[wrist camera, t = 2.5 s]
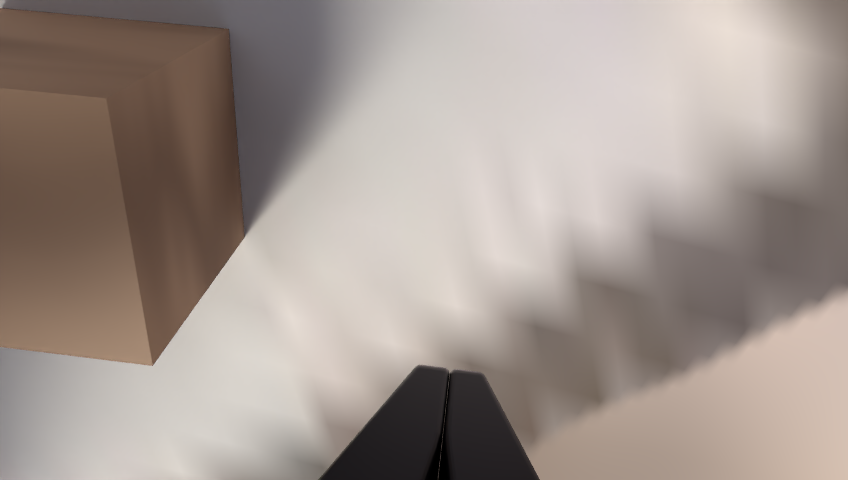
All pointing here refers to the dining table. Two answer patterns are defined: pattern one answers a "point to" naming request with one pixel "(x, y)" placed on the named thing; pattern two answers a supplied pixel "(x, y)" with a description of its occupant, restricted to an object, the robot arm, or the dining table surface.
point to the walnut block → (112, 181)
